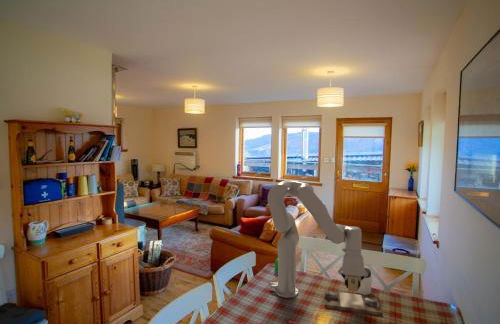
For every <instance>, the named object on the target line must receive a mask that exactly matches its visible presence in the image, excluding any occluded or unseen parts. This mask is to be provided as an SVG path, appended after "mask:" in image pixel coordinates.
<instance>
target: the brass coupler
mask: <svg viewBox="0 0 500 324" xmlns="http://www.w3.org/2000/svg"><path fill="white" fill-rule="evenodd" d="M347 291H350V292H356V291H358V276H350V275H348V288H347Z"/></svg>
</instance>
